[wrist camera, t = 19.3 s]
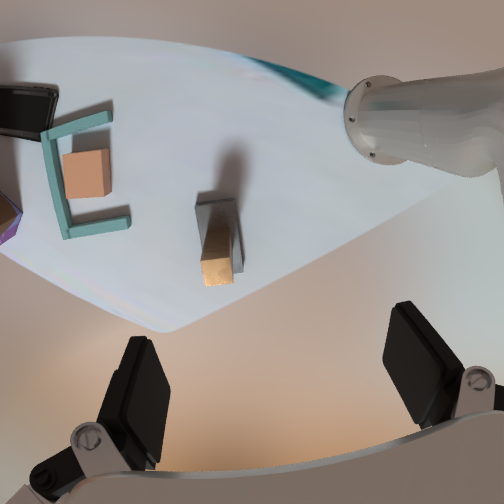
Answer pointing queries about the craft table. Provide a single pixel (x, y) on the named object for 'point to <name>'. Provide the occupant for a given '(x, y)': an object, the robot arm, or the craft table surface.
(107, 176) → the tile
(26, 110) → the phone
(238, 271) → the pusher
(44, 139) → the frame
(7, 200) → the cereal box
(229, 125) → the craft table surface
